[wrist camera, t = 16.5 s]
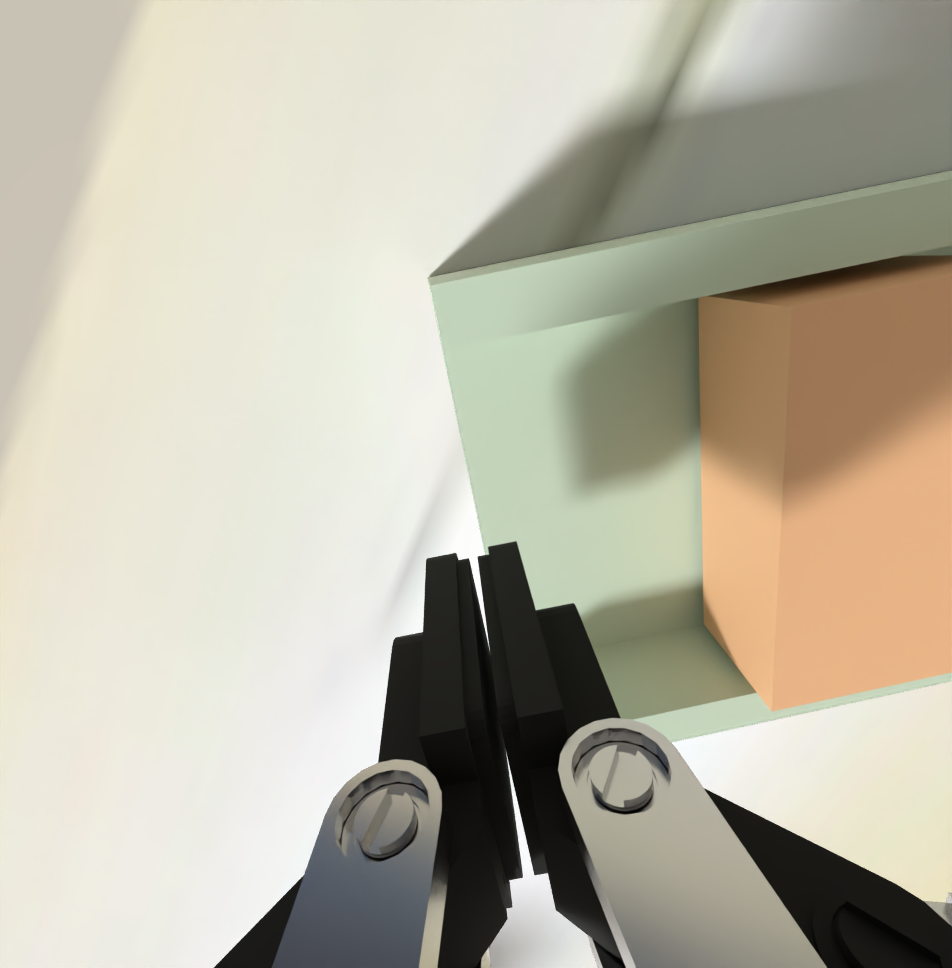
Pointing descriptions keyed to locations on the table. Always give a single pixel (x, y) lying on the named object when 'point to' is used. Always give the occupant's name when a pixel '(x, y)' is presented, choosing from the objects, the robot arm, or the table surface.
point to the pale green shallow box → (638, 425)
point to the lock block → (829, 478)
